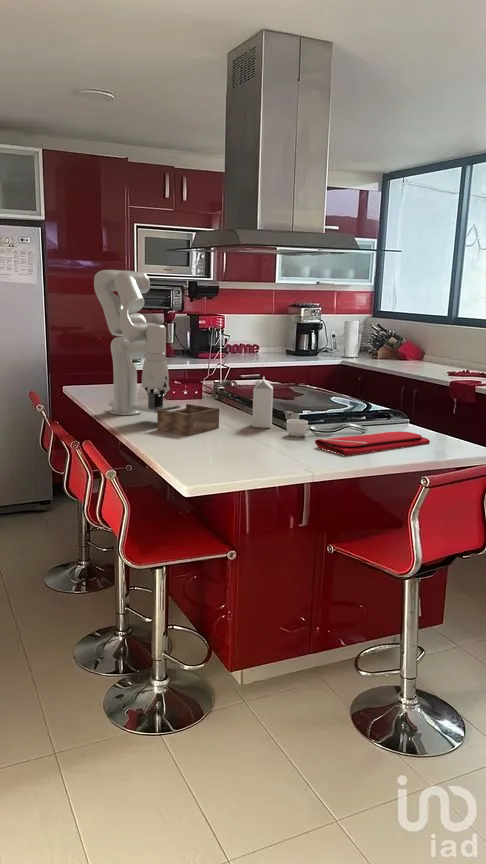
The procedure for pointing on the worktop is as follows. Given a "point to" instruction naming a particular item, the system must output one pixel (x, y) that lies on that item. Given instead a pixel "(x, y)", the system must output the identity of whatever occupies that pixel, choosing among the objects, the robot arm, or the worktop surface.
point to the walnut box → (188, 419)
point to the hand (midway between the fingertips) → (155, 405)
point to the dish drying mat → (371, 442)
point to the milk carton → (262, 404)
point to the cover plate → (153, 409)
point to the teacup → (297, 427)
